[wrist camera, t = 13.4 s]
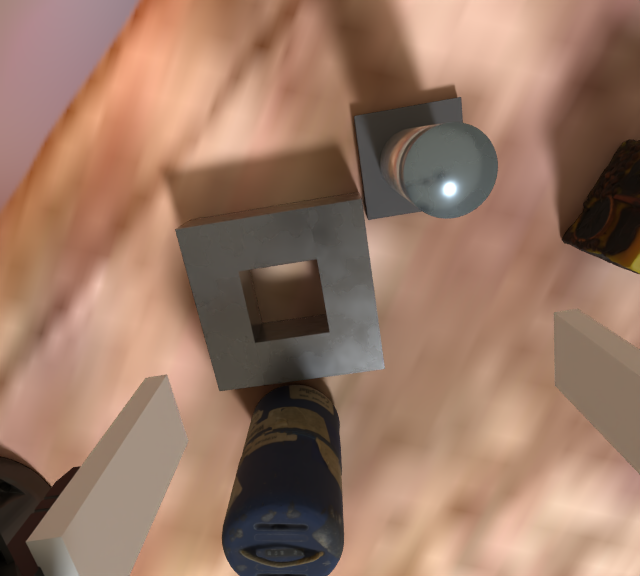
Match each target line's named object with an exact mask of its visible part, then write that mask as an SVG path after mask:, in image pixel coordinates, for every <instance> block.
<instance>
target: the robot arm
mask: <svg viewBox="0 0 640 576" xmlns="http://www.w3.org/2000/svg"><path fill="white" fill-rule="evenodd" d="M554 355H555V386H556V387H557V388H558V389H559V390H560V391H561V392H562V393H563V394H564V396H565V397H566V398H567V399H568V400H569V401H570V402H571V403H572V404H573V405H574V406H575V407H576V408H577V409H578V410H579V411H580V412H581V413H582V414H583V415H584V416H585V418H586V419H587V420H588V421H589V422H590V423H591V424H592V425H593V426H594V427H595V428H596V429H597V430H598V431H599V432H600V433H601V434H602V435H603V436H604V437H605V439H606V440H607V441H608V442H609V443H610V444H611V445H612V446H613V447H614V448H615V449H616V450H617V451H618V452H619V453H620V454H621V455H622V456H623V457H624V458H625V459H626V461H627V462H628V463H629V464H630V465H631V466H632V467H633V468H634V469H635V470H636V471H637V472H638V473H639V474H640V349H638V348H637V347H635V346H634V345H632V344H631V343H629V342H628V341H626V340H624V339H623V338H621V337H620V336H618V335H617V334H615V333H614V332H612V331H611V330H609V329H608V328H606V327H605V326H603V325H602V324H600V323H599V322H597V321H596V320H594V319H593V318H591V317H589V316H588V315H586V314H585V313H583V312H582V311H580V310H579V309H573V310H567V311H560V312H554ZM187 443H188V438H187V435H186V432H185V429H184V426H183V423H182V420H181V417H180V413H179V410H178V407H177V404H176V401H175V398H174V395H173V392H172V388H171V385H170V382H169V379H168V376H167V375H161V376H155V377H149V378H145V380H144V381H143V382H142V384H141V385H140V386H139V388H138V389H137V390H136V392H135V393H134V395H133V396H132V397H131V399H130V400H129V401H128V403H127V404H126V405H125V407H124V408H123V410H122V411H121V412H120V414H119V415H118V416H117V418H116V419H115V420H114V422H113V423H112V425H111V426H110V427H109V429H108V430H107V431H106V433H105V434H104V436H103V437H102V438H101V440H100V441H99V442H98V444H97V445H96V446H95V448H94V449H93V451H92V452H91V453H90V455H89V456H88V457H87V459H86V460H85V461H84V463H83V464H82V466H80V467H73V468H72V469H71V470H70V471H68V472H67V473H66V474H65V475H64V476H62V477H61V478H60V479H59V480H58V481H56V482H55V484H54V485H53V486H52V488H50V486H49V485H48V484H47V483H46V482H45V481H44V480H43V479H42V478H41V477H40V476H39V475H37V474H36V473H35V472H33V471H32V470H30V469H29V468H27V467H25V466H24V465H22V464H20V463H17V462H15V461H12V460H10V459H6V458H3V457H0V576H130V573H131V571H132V569H133V566H134V564H135V562H136V560H137V557H138V555H139V553H140V550H141V548H142V546H143V544H144V541H145V539H146V537H147V534H148V532H149V530H150V528H151V525H152V523H153V521H154V518H155V516H156V514H157V512H158V509H159V507H160V505H161V502H162V500H163V498H164V496H165V493H166V491H167V489H168V486H169V484H170V482H171V480H172V477H173V475H174V473H175V470H176V468H177V466H178V464H179V461H180V459H181V457H182V454H183V452H184V450H185V448H186V445H187Z"/></svg>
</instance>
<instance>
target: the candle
mask: <svg viewBox="0 0 640 576" xmlns="http://www.w3.org/2000/svg"><path fill="white" fill-rule="evenodd" d="M562 240H563V242H564V243H566V244H570V245H572V246H574V247H576V248H577V249H579V250H581V251H584V252H586V253H588V254H591V255H593V256H596V257H599V258H601V259H603V260H605V261H607V262H609V263H612V264H614V265H616V266H619V267H621V268H624V269H627V270H630V271H632V272H634V273H637V274H640V140H639V141H635V140H628V141H626V142H624V143H622V145H621V146H620V148H619V149H618V151H617V152H616V154H615V156H614V157H613V159H612V161H611V162H610V164H609V166H608V167H607V168H606V169H605V170H604V172H603V174H602V175H601V177H600V178H599V180H598V182H597V184H596V185H595V187H594V188H593V189H592V191H591V192H590V194H589V196H588V199H587V201H585V202H584V211H583V213H582V214H581V215H580V216H579V218H578V219H577V220H576V222H575V223H574V224H573V225H572V226H571V227H570V228H569V229H568V231H567V232H566V233H565V235H564V237H563V239H562Z"/></svg>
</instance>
